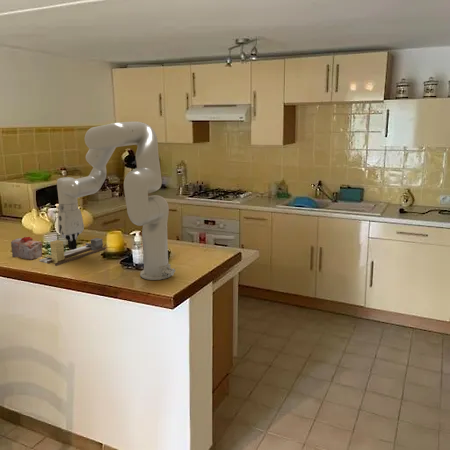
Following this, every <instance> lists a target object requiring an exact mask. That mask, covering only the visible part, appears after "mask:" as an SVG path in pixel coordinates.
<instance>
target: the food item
mask: <svg viewBox="0 0 450 450" xmlns="http://www.w3.org/2000/svg"><path fill="white" fill-rule="evenodd" d="M10 246H11V253H12V254H11V255H12V258H16V257H17V258H21V259H24V260H31V261H32V260H34V259H39V258H41V257H43V244H42V241H37V240H33V238H32V237H31V236H24V237H20V238H16V239H13V240H11V241H10Z"/></svg>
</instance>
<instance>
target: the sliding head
mask: <svg viewBox="0 0 450 450" xmlns="http://www.w3.org/2000/svg"><path fill="white" fill-rule="evenodd" d="M49 244H50V254H46V258H47V257H49V258H52V264H55V263H57V262H60V261H63V260H66V258H65V257H64V252H65V249H64V248H65V247H64V241H63V240H60V239H56V240H53V241H50V242H49Z"/></svg>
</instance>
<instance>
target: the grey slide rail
mask: <svg viewBox="0 0 450 450" xmlns="http://www.w3.org/2000/svg"><path fill="white" fill-rule="evenodd" d="M105 249H106V250H107V248H106V247H105V246H104V245H103V238H99V237H95V238H92V239H90V243H88V242H85V244H84V245H83V246H79V247H77V249H74V250H72V249H69V250H66V251H64V257H65V260H63V261H60V262H57V263H54V266H56V267H57V266H60V265H63V264H66V263H69V262H72V261H75V260H77V259H81V258H84V257H87V256H90V255H94V254H96V253H99V252H102V251H105ZM79 254H80V255H79ZM39 262H41V263H45V264H48V265H49V264H51V263H52V258H49V257H47V256H46V257H45V258H42V259H39ZM52 264H53V263H52Z"/></svg>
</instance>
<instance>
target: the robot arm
mask: <svg viewBox="0 0 450 450" xmlns="http://www.w3.org/2000/svg"><path fill="white" fill-rule="evenodd" d="M84 143H85V145H86V147H87V148H88V151H87V152H86V154H85V161H86V162H87V163H88V164H89V165H90V166H91V167H92V169H91V171H90V172H89V175H87V176H83V177H79V178H75V177H68V176H65V177H60V178H57V181H56V190H57V197H58V206H57V207H56V208H57V210H58V214H57V228H58V233H59V238H60V239H66V241H67V244H68V245H67V246H68V249H69V250H74V249H77V248H78V247H77V240H78V236H79V235H81V234H82V233H83V231H84V229H85V227H84V226H85V225H84V219H83V214H82V211H81V208H79V203H78V202H79V201H78V199H79V198H83V197H85V196H89V195H94V194H96V193H97V192H98V191H100V189H101V188H102V186H103V184H104V183H105V181H106V179H107V164H108V162H109V160H110V159H111V157H112V155H113V153H114V152H115V150H116V148H119V147H126V146H127V147H128V146H133V145H134V146H135V145H136V146H137V149H136V152H135V162H136V168H135V169H133V170H131V171H129V172H127V174H126V175H125V178H124V181H123V192H124V197H125V205H126V210H127V211H126V213H127V215H128V218H129V220H130V222H131V223H132V224H134V225H136V226H138V227H139V226H140V227H141V226H142V231H141V232H142V233H141V234H142V236H141V237H142V244H143V250H142V257H143V270H140V272H139V276H140V278H141V279H144V280H148V281H159V280H166V279H169V278H170V277H173V276H174V274H175V273H176V269H175V268H171V264H170V263H169V250H168V249H169V248H168V247H169V246H168V222H169V221H168V220H169V211H170V207H169V204H168V201H167V200H166V199H165V197H163V196H161V195H157V194H155V195H149V194H151V193H154V192H157V191H158V190H159V189H161V187H162V184H163V180H162V172H161V171H162V170H161V163H160V158H159V157H160V156H159V144H158V143H159V142H158V136H157V134H156V131H155V130H154V128H153V127H152V126H150V125H149V124H147V123H145V122H141V121H123V122H122V121H121V122H119V121H118V122H112V123H108V124H104V125H103V124H102V125H98V126H92V127H90V128H89V129H88V130H87V131H86V132H85V135H84Z"/></svg>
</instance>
